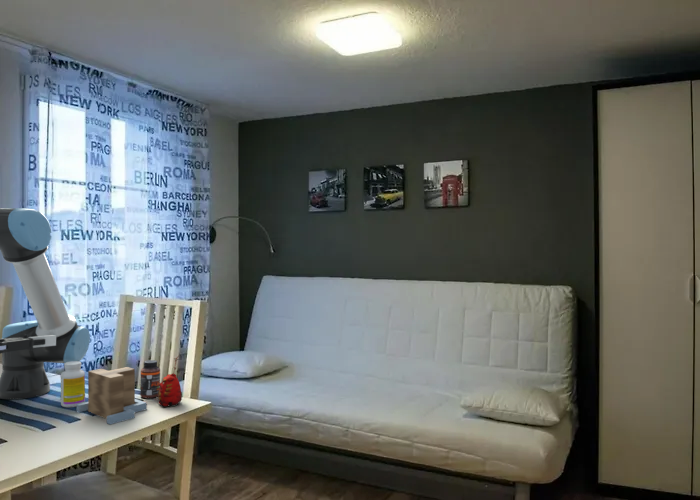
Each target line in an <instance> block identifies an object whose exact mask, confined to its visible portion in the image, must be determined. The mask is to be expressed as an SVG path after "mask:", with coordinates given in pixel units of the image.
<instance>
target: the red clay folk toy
mask: <svg viewBox="0 0 700 500" xmlns="http://www.w3.org/2000/svg"><path fill="white" fill-rule="evenodd" d="M179 356H180V354H177V356H176V358H173V359H174V362H175V363H174V366H173V373H171V374H170V373H169V374H167V375H166V376H164V377H163V378H162V381H160V388H159V392H158V396H157V399H158V405H160V406H161V407H162V408H167V407H169V406H170V407H175V406H177V405H178V404H180V403H181V402H182V399H183V398H182V397H183V392H182V388H181V384H180V382H179V379H178V377H177V375H176V373H175V372H176V371H175V370H176V369H177V367H176V365H177V361H178V360H180V358H179Z"/></svg>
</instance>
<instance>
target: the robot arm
mask: <svg viewBox="0 0 700 500" xmlns="http://www.w3.org/2000/svg"><path fill="white" fill-rule="evenodd" d="M51 234H52V228H51V224H50V222H49V220H48V218H47V217H46V216H45V215H44V213H42V212H41V211H39V210H37V209H32V208H25V207H18V208H3V207H2V208H0V253H1V255H2V257H3V259H4V261H5V262H7V263H9V264H12V266H13V268H14V270H15V272H16V275H17V277H18V279H19V281H20V284H21V287H22V289H23V292H24V293H25V296H26V298H27V301H28V302H29V305H30V308H31V310H32V313H33V315H34V317H35V320H27V321H21V322H16V323H10V324H7V325H5V326H4V327H3V328H2V334H1V335H2V336H1V338H0V354H1V355H2V357H1V360H2V365H1V366H2V368H1V369H2V370H1V371H2V372H1V374H0V399H2V400H23V399H29V398H30V399H31V398H36V397H39V396H43V395H45V394H48V393H49V392H50V389H51V388H50V387H51V384H50V381H49V378H48V375H47V373H46V370H45V368H44V367H45V363H52V364H53V363H55V364H64V363H66V362H71V361H79V362H81V361H82V360H83V358H85V356H86V354H87V352H88V350H89V346H90V343H91V342H90V341H91V334H90V331H89V329H88V328H87V327H86V326H83V325H82V326H79V325H78V323H77V320H76V318H75V317H74V316H73V315H71V314H68V311H67V309H66V306H65V303H64V301H63V298H62V296H61V292H60V291H59V288H58V285H57V283H56V282H57V281H55V277H54V275H53V272H52V269H51V268H50V264H49V262H48V259H47V257H46V254H45V253H46V252H47V251H48V249H49V245H50V243H51V240H52V235H51Z"/></svg>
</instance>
